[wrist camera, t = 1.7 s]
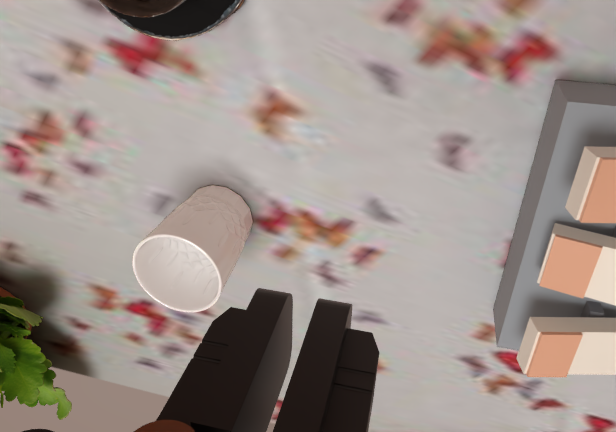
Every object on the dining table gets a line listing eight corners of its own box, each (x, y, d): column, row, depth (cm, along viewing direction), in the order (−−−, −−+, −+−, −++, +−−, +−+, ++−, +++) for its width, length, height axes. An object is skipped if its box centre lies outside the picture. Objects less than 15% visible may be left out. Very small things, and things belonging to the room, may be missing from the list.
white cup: (213, 163, 49) (164, 217, 41) (275, 219, 51) (240, 283, 42) (168, 210, 53) (115, 268, 45) (227, 261, 55) (186, 326, 47)
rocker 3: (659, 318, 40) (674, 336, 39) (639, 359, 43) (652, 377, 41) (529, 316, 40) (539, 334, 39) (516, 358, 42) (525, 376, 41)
